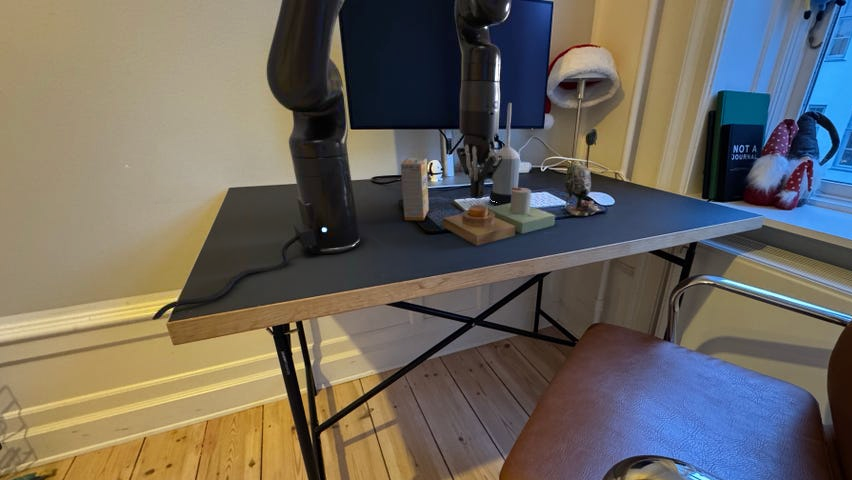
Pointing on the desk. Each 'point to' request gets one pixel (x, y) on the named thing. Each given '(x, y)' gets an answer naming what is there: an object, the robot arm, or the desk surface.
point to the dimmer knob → (520, 200)
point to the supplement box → (415, 188)
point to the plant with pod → (581, 183)
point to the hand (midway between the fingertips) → (477, 197)
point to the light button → (478, 211)
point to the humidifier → (505, 171)
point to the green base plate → (524, 218)
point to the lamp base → (479, 227)
